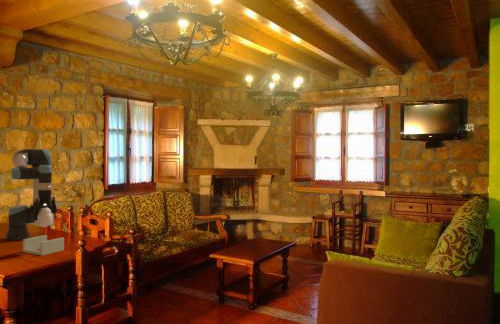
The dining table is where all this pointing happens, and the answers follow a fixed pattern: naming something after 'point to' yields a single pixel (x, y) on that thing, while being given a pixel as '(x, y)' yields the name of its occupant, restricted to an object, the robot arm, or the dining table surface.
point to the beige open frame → (42, 245)
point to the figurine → (45, 217)
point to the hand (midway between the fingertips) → (44, 224)
